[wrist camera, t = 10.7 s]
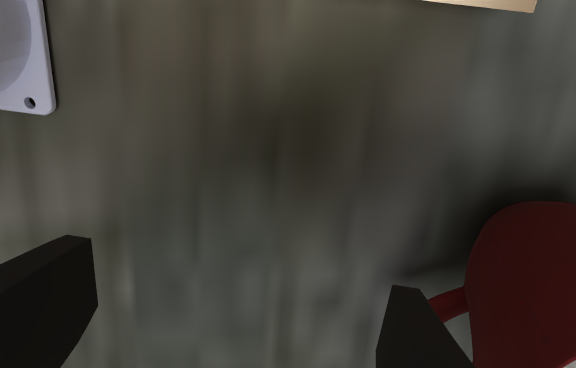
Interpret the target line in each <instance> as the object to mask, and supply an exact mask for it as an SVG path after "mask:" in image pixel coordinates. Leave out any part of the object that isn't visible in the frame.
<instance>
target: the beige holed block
mask: <svg viewBox="0 0 576 368" xmlns="http://www.w3.org/2000/svg"><path fill="white" fill-rule="evenodd" d="M424 1H433V2H441V3H450V4H459V5H468V6H477V7H485V8H494V9H503V10H512V11H521V12H529V13H533V12H534V9H535V6H536V3H537V0H424Z"/></svg>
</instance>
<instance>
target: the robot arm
mask: <svg viewBox="0 0 576 368" xmlns="http://www.w3.org/2000/svg"><path fill="white" fill-rule="evenodd" d="M30 98H32V99H33V100H34V101H35V106H33V105H32V104H31V103H30V100H29V99H30ZM55 108H56V100H55V92H54V85H53V77H52V70H51V62H50V54H49V47H48V39H47V31H46V24H45V16H44V8H43V1H42V0H0V110H8V111H15V112H23V113H31V114H38V115H47V114H49V113H51V112H53V111H54V110H55ZM97 307H98V299H97V290H96V281H95V271H94V262H93V253H92V243H91V238H84V237H78V236H71V235H65V236H62V237H60V238H57V239H55V240H52V241H50V242H48V243H46V244H43V245H41V246H39V247H37V248H35V249H32V250H30V251H28V252H26V253H24V254H22V255H20V256H17V257H15V258H13V259H11V260H9V261H7V262H4V263H2V264H0V368H60V367H61V366H62V364H63V363H64V362H65V360H66V359H67V358H68V356H69V355H70V353H71V352H72V351H73V349H74V348H75V346H76V345H77V343H78V342H79V340H80V338H81V336H82V335H83V333H84V331H85V329H86V328H87V326H88V324H89V322H90V320H91V318H92V316H93V314H94V312H95V311H96V309H97ZM376 368H475V366H474V365H473V364H472V362H471V361H470V360H469V358H468V357H467V356H466V354H465V353H464V352H463V350H462V349H461V348H460V346H459V345H458V344H457V342H456V341H455V340H454V338H453V337H452V335H451V334H450V333H449V331H448V330H447V328H446V327H445V325H444V324H443V323H442V321H441V320H440V318H439V317H438V315H437V314H436V312H435V311H434V309H433V308H432V306H431V305H430V303H429V302H428V301H427V299H426V298H425V296H424V295H423V293H422V292H421V291H420V289H417V288H410V287H404V286H397V285H392V289H391V292H390V296H389V300H388V304H387V308H386V312H385V316H384V320H383V324H382V328H381V332H380V336H379V340H378V344H377V348H376Z"/></svg>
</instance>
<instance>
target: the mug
mask: <svg viewBox="0 0 576 368" xmlns="http://www.w3.org/2000/svg"><path fill="white" fill-rule="evenodd" d="M427 301H428V302H429V303H430V305H431V306H432V308H433V309H434V311H435V312H436V314H437V315H438V317H439V318H440V320H441V321H442V323H445V322H446V321H448V320H450V319H452V318H454V317H456V316H458V315H460V314H463V313H465V312H468V311H469V318H470V326H471V335H472V347H473V363H472V364H473V365H474V366H475V368H576V204H573V203H566V202H556V201H524V202H519V203H515V204H512V205H509V206H507V207H505V208H503V209H501V210H500V211H498V212H496V213H495V214H494V215H493V216H492V217H491V218H490V219H489V220H488V221H487V222H486V223H485V224H484V226H483V228H482V229H481V231H480V233H479V235H478V237H477V239H476V241H475V243H474V246H473V248H472V251H471V253H470V256H469V260H468V264H467V269H466V275H465V282H464V286H463V287H460V288H457V289H454V290H451V291H448V292H445V293H443V294H440V295H437V296H435V297H433V298H431V299H429V300H427Z"/></svg>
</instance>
